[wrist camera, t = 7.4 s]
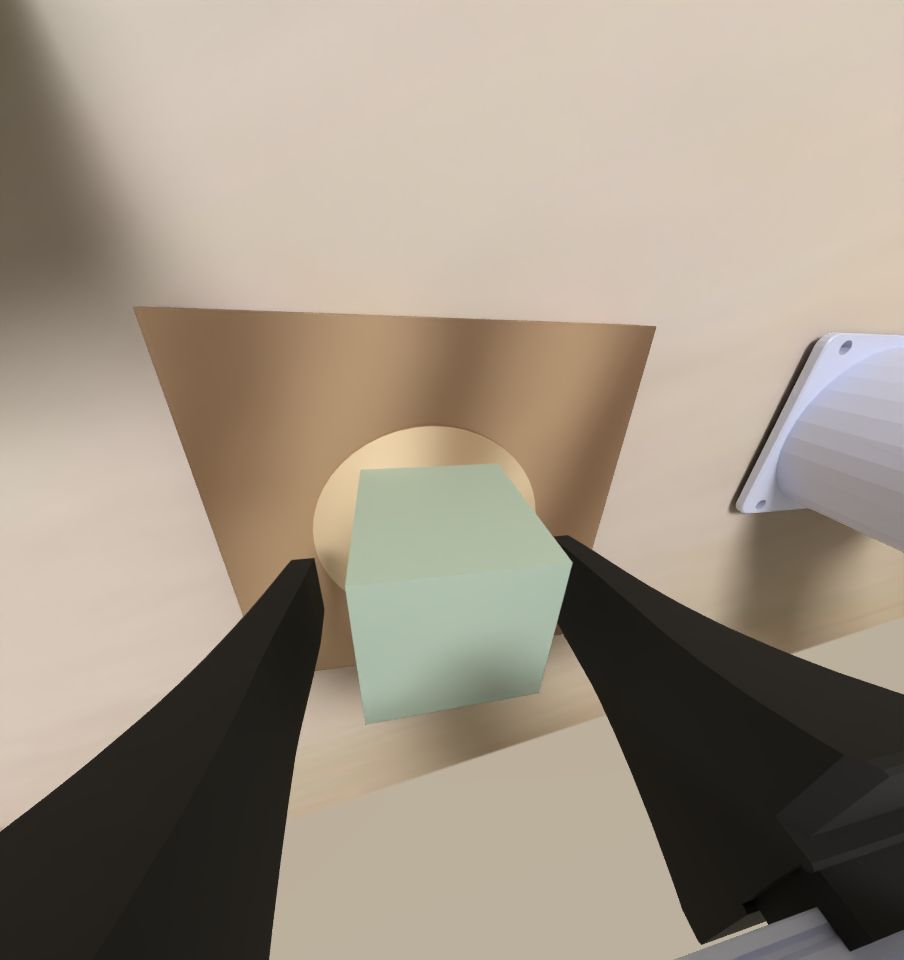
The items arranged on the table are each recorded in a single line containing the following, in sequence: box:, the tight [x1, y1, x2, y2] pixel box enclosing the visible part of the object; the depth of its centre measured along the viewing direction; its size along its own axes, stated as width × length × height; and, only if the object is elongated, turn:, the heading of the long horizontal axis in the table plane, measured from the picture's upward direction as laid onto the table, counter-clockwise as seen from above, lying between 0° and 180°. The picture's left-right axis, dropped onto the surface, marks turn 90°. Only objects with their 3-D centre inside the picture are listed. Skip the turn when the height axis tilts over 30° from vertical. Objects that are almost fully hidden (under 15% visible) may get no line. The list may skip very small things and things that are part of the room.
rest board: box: [133, 307, 656, 671], centre depth 13 cm, size 14×14×1 cm
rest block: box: [345, 464, 573, 725], centre depth 10 cm, size 4×4×5 cm
